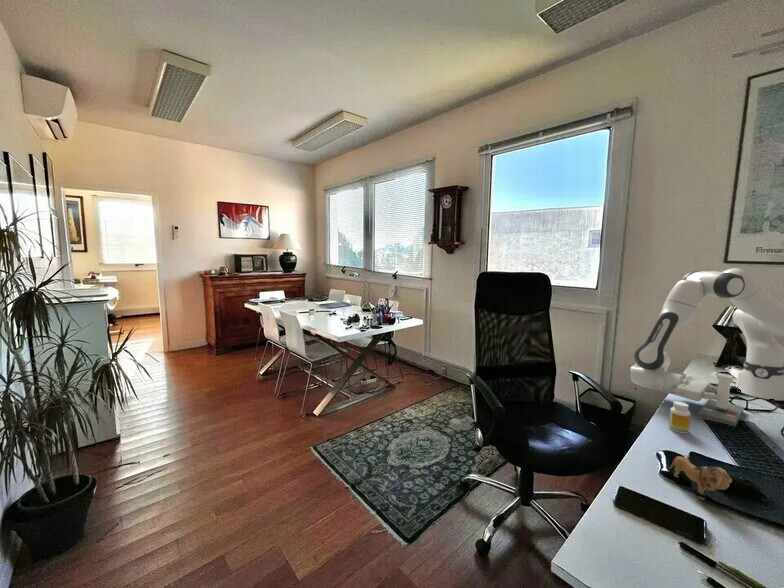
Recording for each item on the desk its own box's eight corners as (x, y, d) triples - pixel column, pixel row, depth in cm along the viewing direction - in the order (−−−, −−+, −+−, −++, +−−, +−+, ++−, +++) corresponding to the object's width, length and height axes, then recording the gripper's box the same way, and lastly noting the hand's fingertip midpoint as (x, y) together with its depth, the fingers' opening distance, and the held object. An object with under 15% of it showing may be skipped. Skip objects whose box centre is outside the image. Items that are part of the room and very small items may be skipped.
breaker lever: (715, 405, 131) (718, 373, 129) (729, 409, 127) (733, 376, 126) (713, 408, 128) (717, 375, 127) (728, 411, 125) (731, 378, 124)
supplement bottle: (692, 434, 114) (695, 407, 112) (674, 433, 115) (677, 406, 114) (682, 426, 119) (684, 401, 118) (665, 425, 120) (667, 399, 119)
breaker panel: (708, 403, 138) (709, 398, 138) (743, 412, 130) (743, 407, 130) (697, 417, 126) (698, 411, 126) (735, 427, 118) (735, 422, 118)
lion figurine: (733, 506, 81) (737, 471, 80) (718, 510, 79) (722, 475, 78) (669, 469, 95) (671, 440, 94) (655, 472, 93) (658, 442, 92)
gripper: (669, 382, 132) (717, 393, 121) (682, 372, 144) (727, 381, 133) (668, 397, 133) (715, 410, 122) (681, 385, 145) (725, 396, 134)
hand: (721, 394), depth 128 cm, fingers open, 8 cm apart
